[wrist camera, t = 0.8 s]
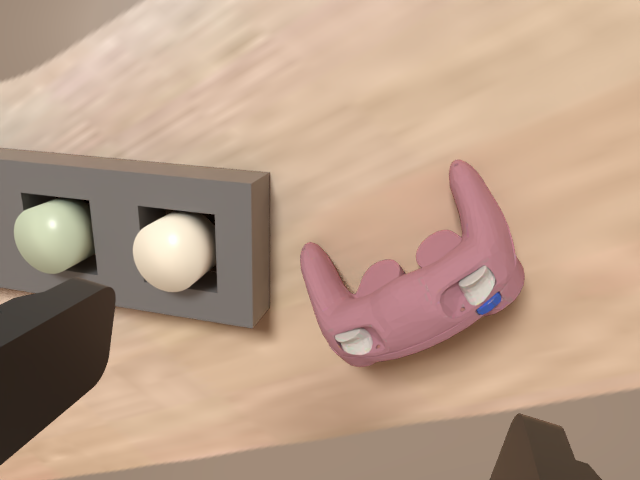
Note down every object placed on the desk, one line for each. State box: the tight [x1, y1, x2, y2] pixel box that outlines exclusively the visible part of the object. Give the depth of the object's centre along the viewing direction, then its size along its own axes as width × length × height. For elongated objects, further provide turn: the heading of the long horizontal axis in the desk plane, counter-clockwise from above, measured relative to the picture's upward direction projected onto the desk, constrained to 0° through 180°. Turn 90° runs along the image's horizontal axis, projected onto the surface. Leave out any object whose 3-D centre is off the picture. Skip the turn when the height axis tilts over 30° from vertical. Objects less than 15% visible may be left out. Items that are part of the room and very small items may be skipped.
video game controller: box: [300, 160, 524, 367], centre depth 25 cm, size 10×5×7 cm
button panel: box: [0, 148, 270, 328], centre depth 30 cm, size 22×8×2 cm, turn 87°
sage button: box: [14, 197, 95, 274], centre depth 29 cm, size 4×4×2 cm
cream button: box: [133, 210, 216, 292], centre depth 28 cm, size 4×4×2 cm
